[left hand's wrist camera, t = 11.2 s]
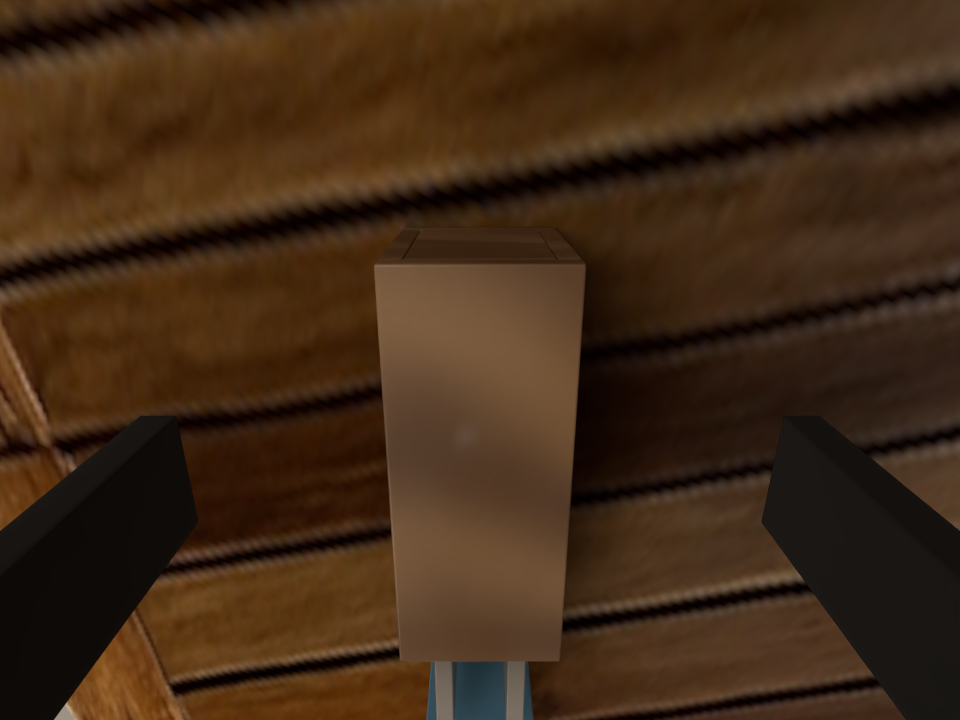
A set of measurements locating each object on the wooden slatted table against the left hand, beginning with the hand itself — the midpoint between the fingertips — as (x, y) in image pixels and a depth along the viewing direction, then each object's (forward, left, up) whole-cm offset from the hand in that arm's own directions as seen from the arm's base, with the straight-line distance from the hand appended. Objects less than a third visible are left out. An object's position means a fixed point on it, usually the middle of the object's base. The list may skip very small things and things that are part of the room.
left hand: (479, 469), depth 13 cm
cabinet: (+1, +5, -14) cm, 15 cm away
